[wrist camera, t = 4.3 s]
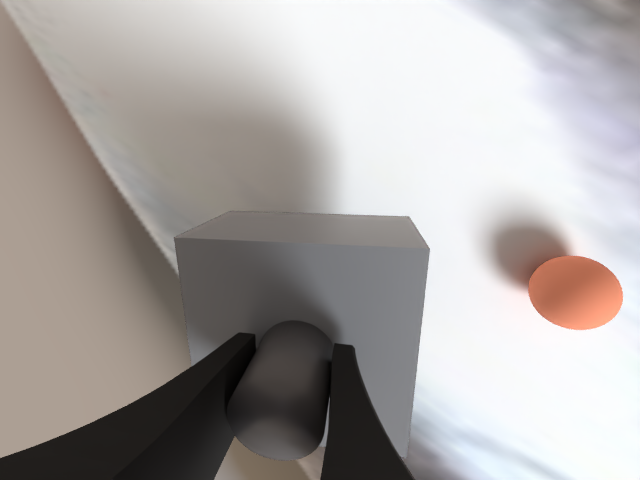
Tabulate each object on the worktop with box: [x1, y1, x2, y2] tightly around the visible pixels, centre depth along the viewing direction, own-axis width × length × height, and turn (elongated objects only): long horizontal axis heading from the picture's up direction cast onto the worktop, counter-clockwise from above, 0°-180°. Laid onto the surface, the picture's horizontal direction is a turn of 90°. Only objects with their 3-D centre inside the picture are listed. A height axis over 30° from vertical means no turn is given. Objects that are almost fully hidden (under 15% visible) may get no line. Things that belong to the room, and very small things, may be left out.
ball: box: [528, 256, 623, 330], centre depth 17 cm, size 4×4×4 cm
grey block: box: [174, 211, 430, 461], centre depth 12 cm, size 9×9×8 cm
